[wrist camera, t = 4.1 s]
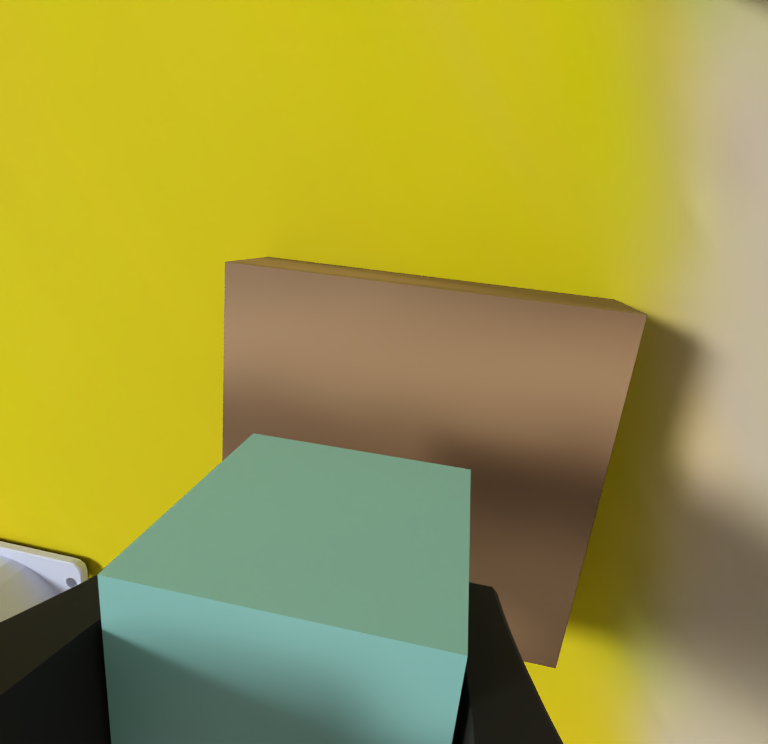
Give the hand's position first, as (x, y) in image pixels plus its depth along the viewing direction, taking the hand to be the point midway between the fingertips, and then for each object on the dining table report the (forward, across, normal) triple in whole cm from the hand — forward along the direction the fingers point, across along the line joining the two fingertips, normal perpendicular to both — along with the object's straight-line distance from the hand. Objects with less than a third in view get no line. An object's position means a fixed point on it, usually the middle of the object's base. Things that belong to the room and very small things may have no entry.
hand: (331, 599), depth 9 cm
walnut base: (+8, 0, 0) cm, 9 cm away
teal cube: (+2, 0, 0) cm, 2 cm away
